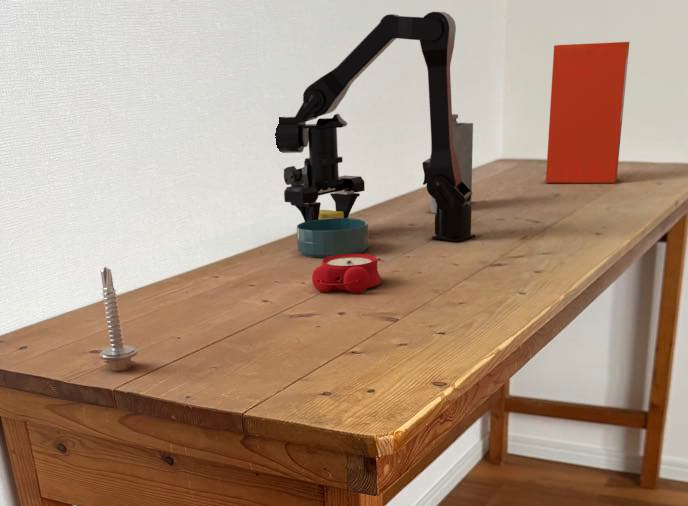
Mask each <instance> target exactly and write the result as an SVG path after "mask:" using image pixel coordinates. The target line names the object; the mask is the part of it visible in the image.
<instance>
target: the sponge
mask: <svg viewBox="0 0 688 506" xmlns="http://www.w3.org/2000/svg"><path fill="white" fill-rule="evenodd" d="M328 218H344V216H343V212H341V211H336V210H330V209H320V212H319V219H328Z"/></svg>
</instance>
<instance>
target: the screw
mask: <svg viewBox="0 0 688 506" xmlns="http://www.w3.org/2000/svg"><path fill="white" fill-rule="evenodd" d="M99 272H100V278H101V285H102V288H101V290H102V293H101V295H102V296H103V298H102V300H103V301H104V302H103V303H102V304H103V305H104V310H105V312H104V314H105V315H106V316H105V317H104V318H105V319H106V323H107V326H106V328H107V329H108V330H107V332H108V335H107V336H108V337H109V339H108V341H109V342H110V343H109V347H105V348H104V349H102V350H101V351H100V353H99V358H100V359H101V360H104V361H107V362H108V365H109V370H111V371H115V372H120V371H121V372H122V371H127V370H129V369H130V368H131V367H132V360H131V359H132V358H134V357H136V356H137V355H138V349H137V348H135V347H134V346H132V345H127V344H124V342H125V340H124V339H123V338H124V335H123V332H124V331H123V330H122V329H123V327H122V322H121V321H120V320H121V317H120V314H121V313H120V312H119V311H120V308H119V307H118V306H119V303H118V298H117V297H118V294H117V293H116V292H117V289H116V288H115V286H114V281H113V275H112V269H111V268H108V267H107V266H104V267H103V268H101V270H100V271H99Z"/></svg>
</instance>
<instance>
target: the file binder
mask: <svg viewBox="0 0 688 506" xmlns="http://www.w3.org/2000/svg"><path fill="white" fill-rule="evenodd" d="M629 50H630V41H617V42H616V41H615V42H614V41H613V42H595V43H594V42H593V43H575V44H574V43H572V44H556V45H553V59H552V71H551V72H552V73H551V74H552V75H551V87H550V88H551V89H550V105H549V120H548V121H549V122H548V141H547V155H546V172H545V173H546V174H545V183H546V184H615V183H616V181H617V180H618V179H617V178H618V170H619V160H620V149H621V148H620V146H621V137H622V126H623V116H624V106H625V105H624V104H625V94H626V84H627V73H628V64H629V53H630V51H629Z"/></svg>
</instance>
